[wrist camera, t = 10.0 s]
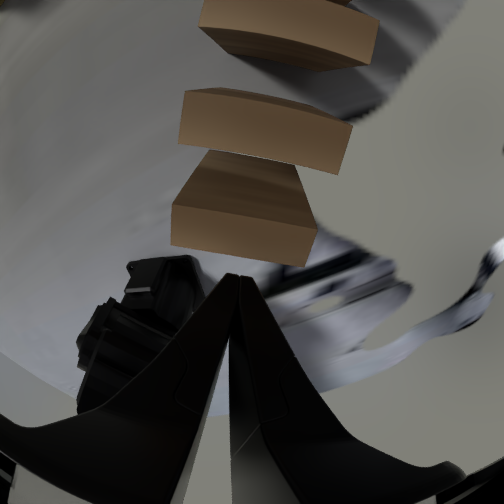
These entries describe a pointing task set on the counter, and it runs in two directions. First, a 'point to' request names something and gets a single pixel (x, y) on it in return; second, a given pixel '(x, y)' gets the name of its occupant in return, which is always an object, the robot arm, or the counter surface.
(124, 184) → the counter surface
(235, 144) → the walnut domino
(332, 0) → the walnut domino
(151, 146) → the counter surface
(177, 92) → the counter surface
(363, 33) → the walnut domino
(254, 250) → the walnut domino
